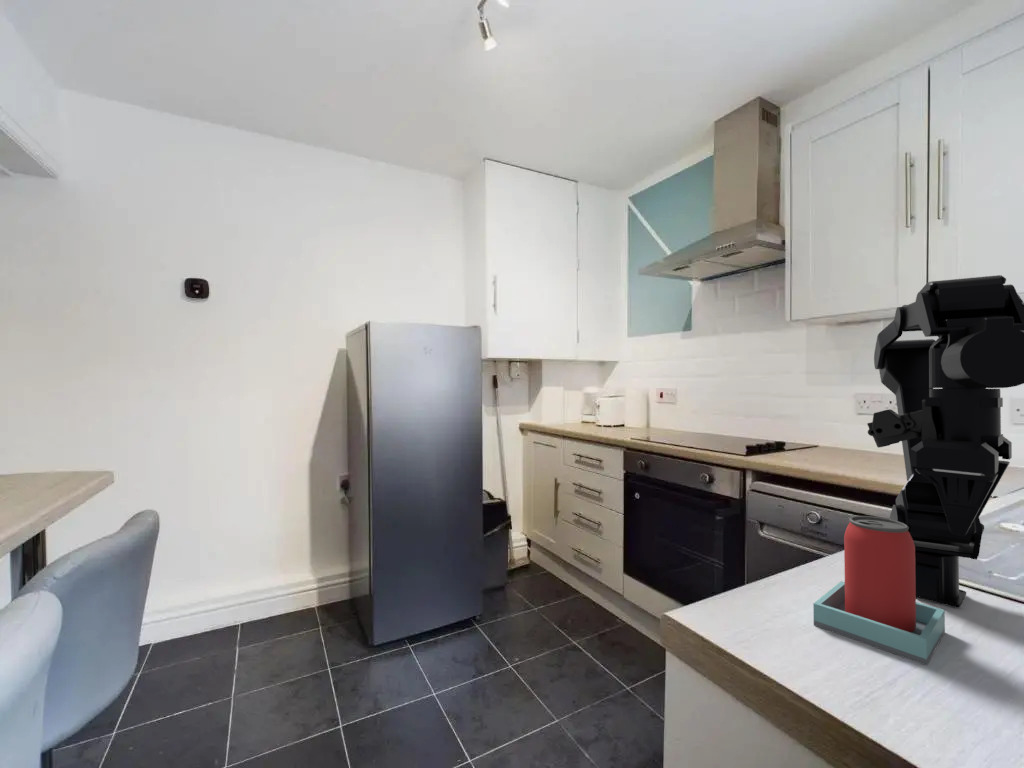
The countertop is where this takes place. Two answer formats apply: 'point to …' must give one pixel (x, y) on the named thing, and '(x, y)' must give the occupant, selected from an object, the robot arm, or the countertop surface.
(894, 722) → the countertop surface
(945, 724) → the countertop surface
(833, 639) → the countertop surface
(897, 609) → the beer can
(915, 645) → the tray
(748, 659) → the countertop surface
